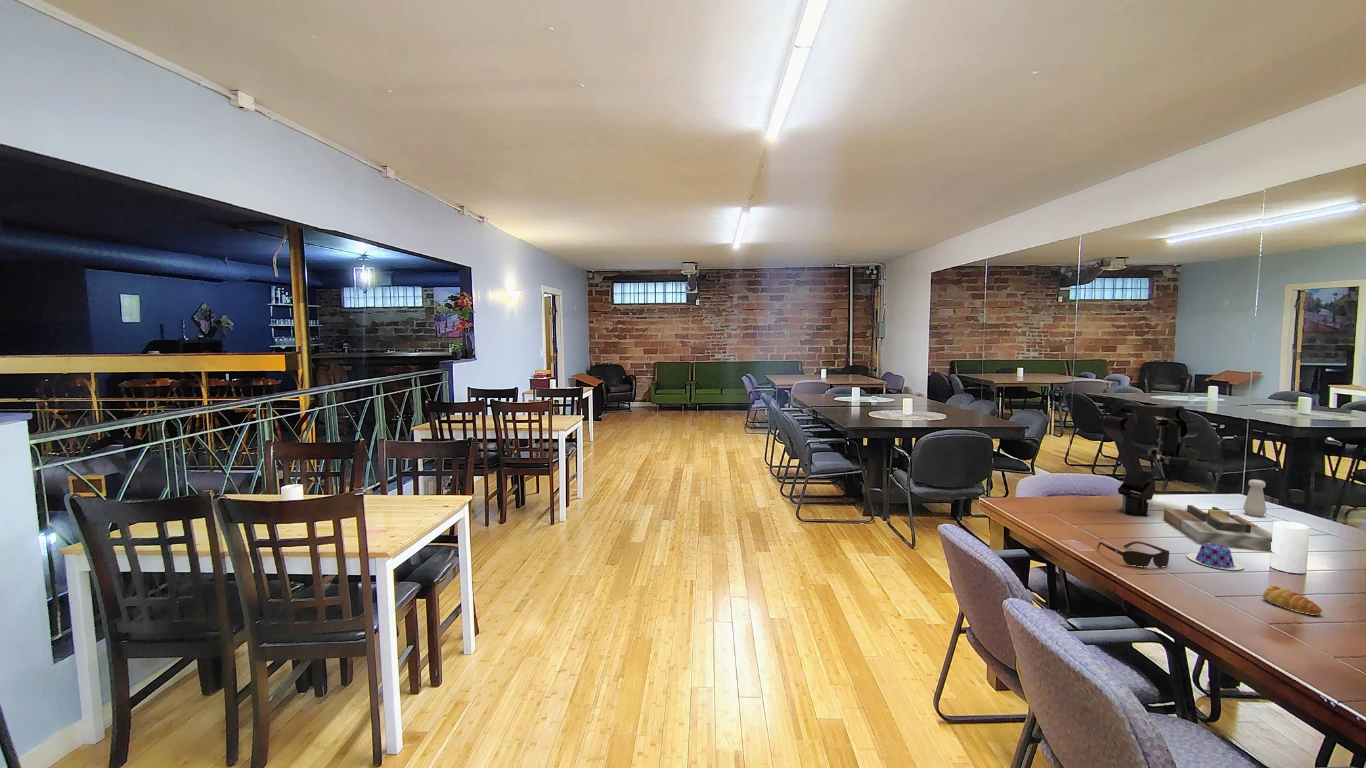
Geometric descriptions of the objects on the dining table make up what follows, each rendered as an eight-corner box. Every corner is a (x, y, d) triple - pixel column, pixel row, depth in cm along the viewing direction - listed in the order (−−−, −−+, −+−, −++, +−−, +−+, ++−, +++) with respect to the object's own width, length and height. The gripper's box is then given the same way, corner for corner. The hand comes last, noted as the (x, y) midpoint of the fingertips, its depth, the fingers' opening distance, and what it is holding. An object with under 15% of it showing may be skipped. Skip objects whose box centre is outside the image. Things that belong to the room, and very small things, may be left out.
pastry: (1328, 615, 128) (1330, 600, 128) (1309, 619, 127) (1311, 604, 126) (1276, 597, 137) (1278, 582, 137) (1258, 601, 136) (1259, 586, 135)
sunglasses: (1129, 569, 154) (1130, 552, 154) (1087, 548, 170) (1088, 532, 169) (1176, 569, 154) (1178, 552, 154) (1131, 547, 170) (1132, 532, 169)
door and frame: (1199, 543, 171) (1200, 524, 171) (1163, 519, 194) (1164, 501, 193) (1282, 552, 164) (1284, 531, 164) (1235, 526, 186) (1237, 507, 186)
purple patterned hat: (1175, 556, 163) (1176, 539, 162) (1208, 553, 165) (1209, 537, 164) (1220, 573, 151) (1222, 555, 150) (1255, 570, 153) (1257, 552, 152)
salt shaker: (1270, 517, 195) (1274, 482, 194) (1254, 517, 195) (1257, 482, 194) (1254, 512, 201) (1257, 478, 199) (1238, 512, 201) (1241, 478, 199)
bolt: (1220, 527, 173) (1221, 516, 173) (1207, 519, 181) (1208, 509, 180) (1241, 529, 172) (1242, 518, 171) (1226, 521, 179) (1227, 511, 179)
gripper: (1210, 444, 190) (1207, 487, 191) (1184, 435, 207) (1181, 474, 208) (1171, 442, 194) (1167, 484, 195) (1148, 433, 211) (1145, 472, 212)
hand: (1166, 479), depth 203 cm, fingers closed
